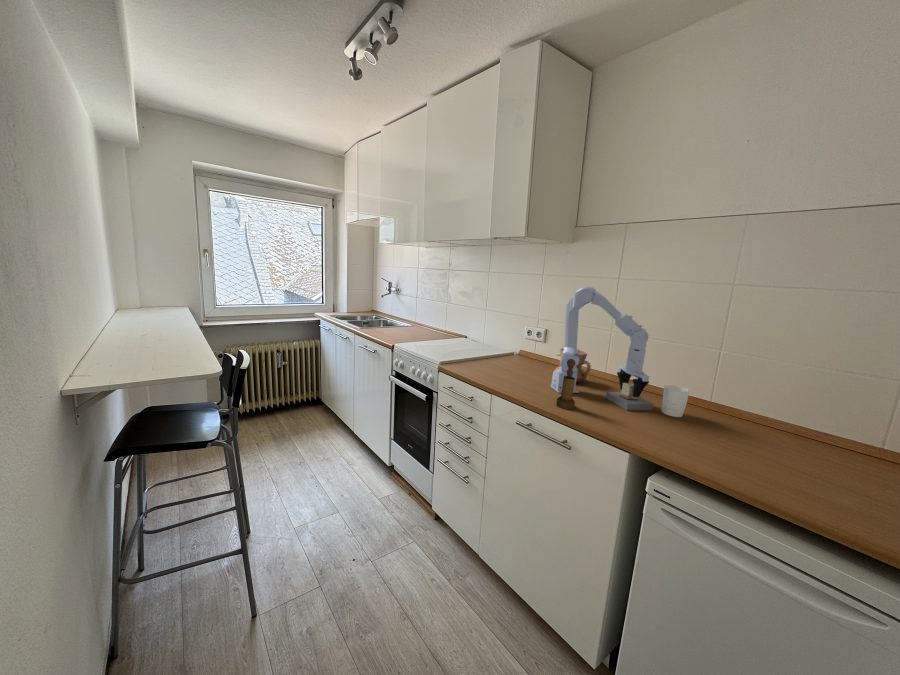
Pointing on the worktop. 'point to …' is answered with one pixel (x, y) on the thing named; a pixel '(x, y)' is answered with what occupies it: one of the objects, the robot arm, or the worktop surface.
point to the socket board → (629, 402)
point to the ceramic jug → (579, 365)
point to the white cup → (674, 400)
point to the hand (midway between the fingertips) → (629, 393)
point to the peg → (628, 391)
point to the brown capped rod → (567, 388)
